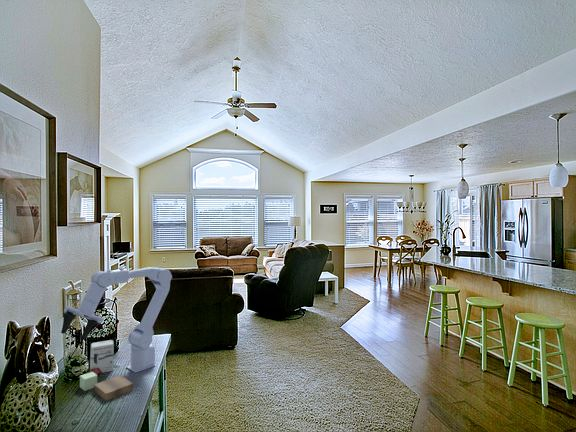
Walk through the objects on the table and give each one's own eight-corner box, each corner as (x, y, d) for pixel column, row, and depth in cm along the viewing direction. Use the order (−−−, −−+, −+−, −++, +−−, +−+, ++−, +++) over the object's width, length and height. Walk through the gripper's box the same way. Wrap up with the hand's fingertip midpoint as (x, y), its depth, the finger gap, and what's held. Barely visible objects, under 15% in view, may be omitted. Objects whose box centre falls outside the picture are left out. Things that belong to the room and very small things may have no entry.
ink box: (90, 375, 139) (91, 347, 139) (89, 370, 143) (90, 343, 143) (113, 370, 144) (114, 343, 144) (112, 366, 148) (112, 339, 148)
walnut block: (120, 382, 135) (120, 375, 135) (132, 391, 129) (133, 383, 129) (93, 392, 127) (94, 384, 127) (105, 402, 121) (105, 393, 121)
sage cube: (92, 382, 134) (92, 371, 133) (97, 386, 131) (97, 375, 131) (79, 387, 130) (80, 375, 130) (84, 391, 127) (84, 379, 127)
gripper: (68, 294, 127) (48, 330, 122) (104, 306, 127) (86, 342, 122) (77, 296, 134) (58, 330, 129) (111, 307, 134) (94, 342, 129)
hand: (72, 336), depth 126 cm, fingers open, 7 cm apart
